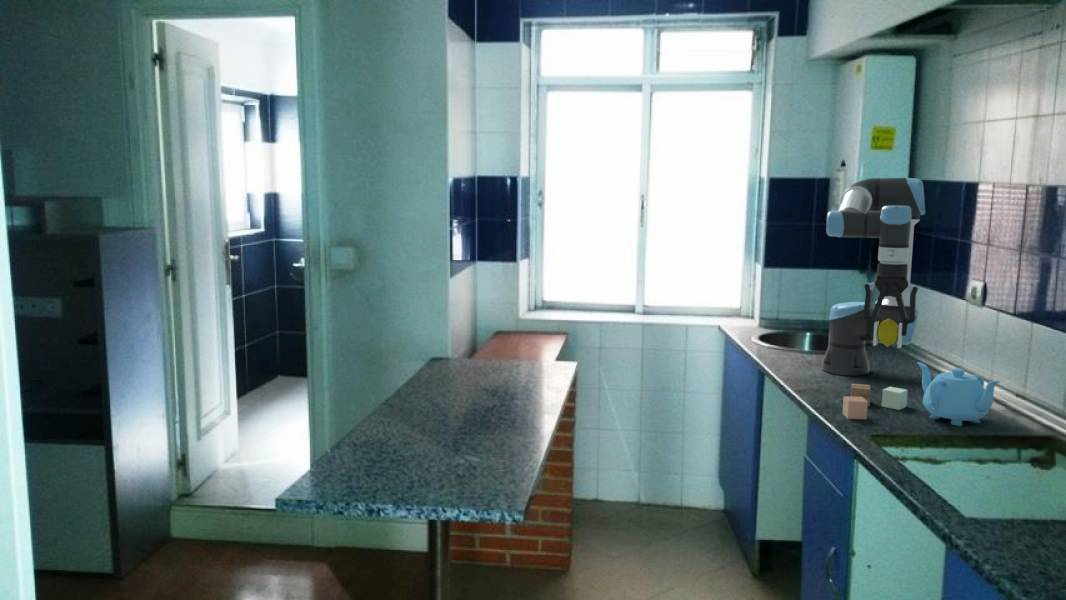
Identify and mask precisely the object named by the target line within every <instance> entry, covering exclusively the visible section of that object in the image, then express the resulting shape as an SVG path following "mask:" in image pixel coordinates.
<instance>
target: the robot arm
mask: <svg viewBox="0 0 1066 600" xmlns="http://www.w3.org/2000/svg"><path fill="white" fill-rule="evenodd" d="M924 191H925V190H924V183H923V180H922V179H920V178H912V177H887V178H886V177H881V178H880V177H879V178H877V177H871V178H870V177H869V178H865V179H861V180H859V181H856V182H854V183H853V184H851V185H849V186H848V187H847V188H845V189H844V190H843V192H842V193H841V195H840V200H839V201H840V202H839V203H840V207H839V209H837V210H830V211H828V212H827V215H826V224H825V225H826V227H825V230H826V234H827V236H829V237H835V238H836V237H837V238H866V239H867V238H869V239H870V238H871V239H874V238H877V239H878V240H879V244H878V253H877V260H878V263H877V269H876V270H877V272H876V279H875V280H874V281H873V282H866V283H865V284H864V285H863V287H864V290H865V299H864V301H849V302H840V303H837V304H834V305H833V306H831V308H830V313H829V317H828V320H829V327H828V328H829V329H828V341H827V342H828V343H827V344H828V345H827V348H826V351H825V353H824V356H823V358H822V362H821V370H822V371H823V372H825V373H830V374H835V375H838V376H840V375H841V376H855V377H857V376H864V375H868V374H870V363H869V360H868V359H869V358H868V356H867V352H866V343H872V346H873V347H874V346H877V345H878V344H882V343H881V342H880V341H879V339H878V336H877V330H878V327H879V325H880V323H881V322H882V321H884V320H887V319H891V320H893V321H894V322H896V323H897V325H898V327H899V332H898V340H897V341H896V342H895V343H894V344H893V345H894V346H896V345H897V349H901V348H902V346H903V345H905V346H906V345H909V344H911V343H912V341H913V338H914V334H915V329H916V325H917V322H918V321H917V319H918V314H919V310H917V309H916V307H917V306H916V304H917V302H916V300H917V293H918V290H919V286H918V285H912V284H911V277H912V276H911V273H912V261H913V260H912V259H913V249H914V248H913V246H914V245H913V244H914V232H915V225H916V224H917V223H919V222H920V220H921V216H923V215H925V214H926V206H925V205H926V204H925V203H926V202H925V192H924ZM875 287H876V289H877V291H878V292H879V295H878V299H877V300H876V301H875V302H874V307H871V306H872V305H871V303H872V296H873V291H874V289H875Z"/></svg>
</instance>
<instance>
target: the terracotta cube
mask: <svg viewBox="0 0 1066 600" xmlns="http://www.w3.org/2000/svg"><path fill="white" fill-rule="evenodd" d="M842 399H843V401H842V415H843V416H845V419H848V420H867V419H868V407H869V406H868V402H867V401H866V400H865V399H864V398H863V397H851V395H850V396H846V395H845V396H843V398H842Z"/></svg>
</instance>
